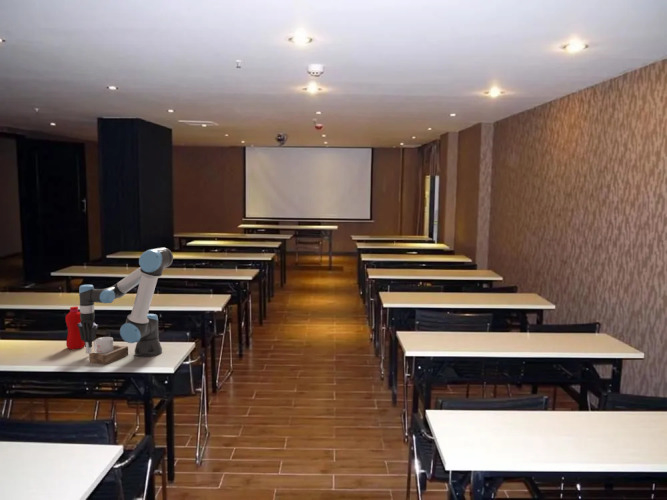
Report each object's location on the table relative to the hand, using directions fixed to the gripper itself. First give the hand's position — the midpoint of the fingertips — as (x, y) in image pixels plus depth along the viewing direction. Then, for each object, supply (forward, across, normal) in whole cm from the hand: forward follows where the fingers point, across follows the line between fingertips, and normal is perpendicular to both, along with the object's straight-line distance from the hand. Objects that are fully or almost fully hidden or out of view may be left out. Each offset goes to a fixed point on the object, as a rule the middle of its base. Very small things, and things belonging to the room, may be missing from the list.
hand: (88, 352), depth 332 cm
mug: (+2, -10, 0) cm, 10 cm away
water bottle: (+3, +21, -13) cm, 25 cm away
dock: (+2, -14, 0) cm, 14 cm away
